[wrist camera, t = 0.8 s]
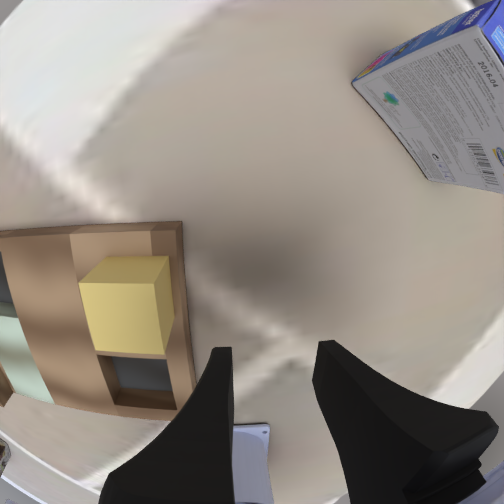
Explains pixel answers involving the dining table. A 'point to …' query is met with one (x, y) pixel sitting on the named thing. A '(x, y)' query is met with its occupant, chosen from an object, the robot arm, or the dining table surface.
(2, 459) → the coffee box
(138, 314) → the cube
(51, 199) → the dining table surface
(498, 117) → the ink cartridge box
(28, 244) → the board
